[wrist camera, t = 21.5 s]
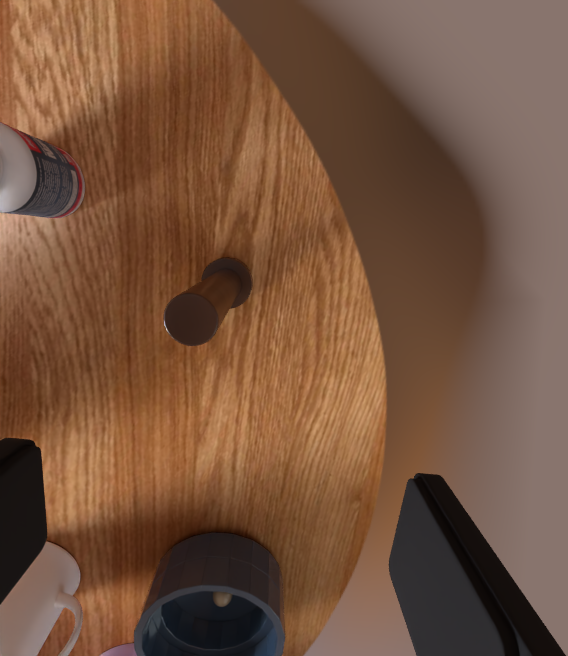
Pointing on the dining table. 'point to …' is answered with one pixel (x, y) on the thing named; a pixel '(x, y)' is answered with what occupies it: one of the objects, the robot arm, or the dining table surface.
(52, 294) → the dining table surface
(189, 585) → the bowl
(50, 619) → the mug
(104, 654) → the clip
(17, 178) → the pill bottle
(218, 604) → the bead
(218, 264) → the rod
